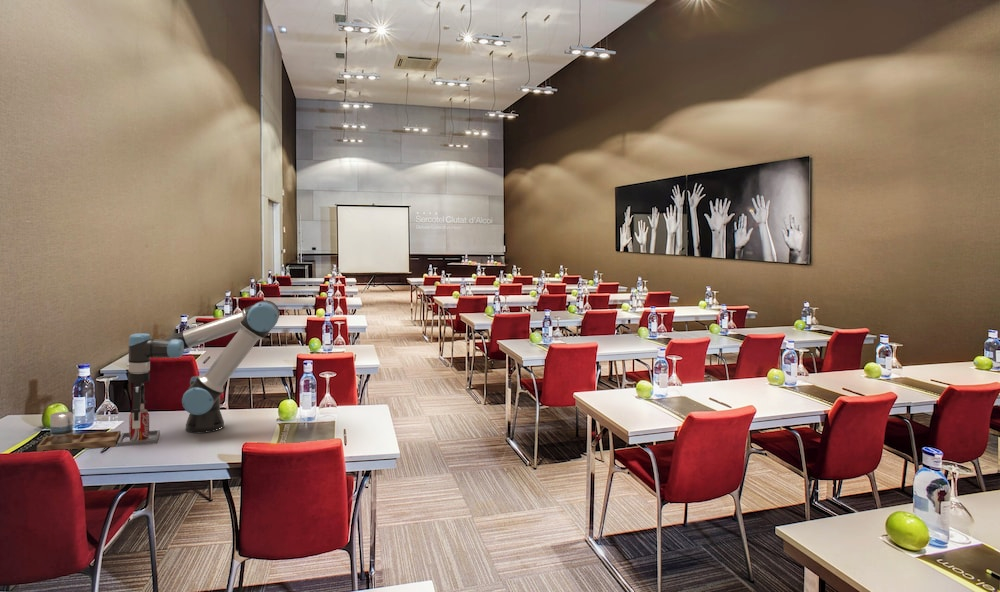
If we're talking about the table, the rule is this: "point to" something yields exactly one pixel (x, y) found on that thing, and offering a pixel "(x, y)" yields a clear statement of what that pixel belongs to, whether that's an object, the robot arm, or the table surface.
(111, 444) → the caddy
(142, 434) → the soda can
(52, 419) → the translucent grey rounded cylinder
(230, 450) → the table surface
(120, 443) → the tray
